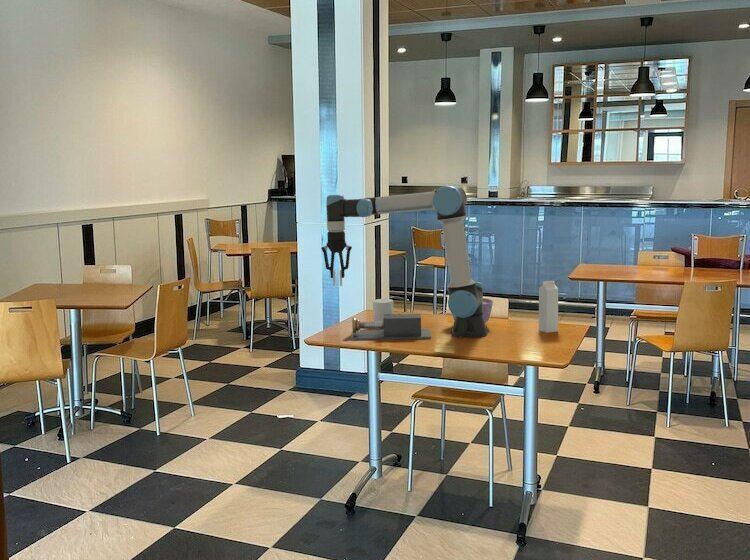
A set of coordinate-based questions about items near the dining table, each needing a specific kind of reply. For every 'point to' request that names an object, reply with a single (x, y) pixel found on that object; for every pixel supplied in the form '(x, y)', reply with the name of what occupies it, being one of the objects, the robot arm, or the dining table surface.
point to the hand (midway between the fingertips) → (337, 285)
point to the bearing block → (396, 329)
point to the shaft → (365, 325)
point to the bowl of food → (484, 309)
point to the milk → (548, 307)
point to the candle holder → (382, 308)
